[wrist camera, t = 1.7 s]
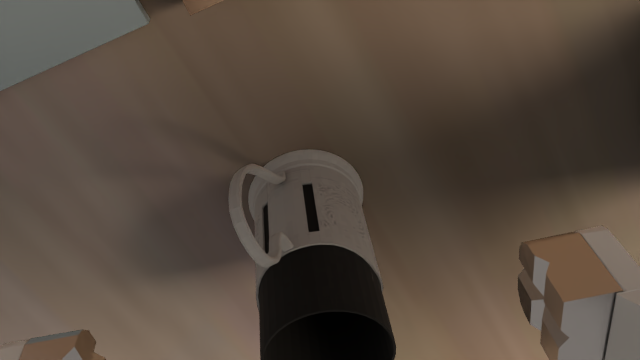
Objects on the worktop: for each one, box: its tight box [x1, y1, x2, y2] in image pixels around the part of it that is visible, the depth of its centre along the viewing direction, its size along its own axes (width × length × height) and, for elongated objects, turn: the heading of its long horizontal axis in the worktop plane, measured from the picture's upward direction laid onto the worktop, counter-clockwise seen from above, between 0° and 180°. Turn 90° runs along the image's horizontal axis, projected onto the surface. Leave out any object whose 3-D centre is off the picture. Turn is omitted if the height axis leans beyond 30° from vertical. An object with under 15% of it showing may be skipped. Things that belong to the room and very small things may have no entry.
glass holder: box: [228, 149, 396, 360], centre depth 37 cm, size 9×14×15 cm, turn 28°
